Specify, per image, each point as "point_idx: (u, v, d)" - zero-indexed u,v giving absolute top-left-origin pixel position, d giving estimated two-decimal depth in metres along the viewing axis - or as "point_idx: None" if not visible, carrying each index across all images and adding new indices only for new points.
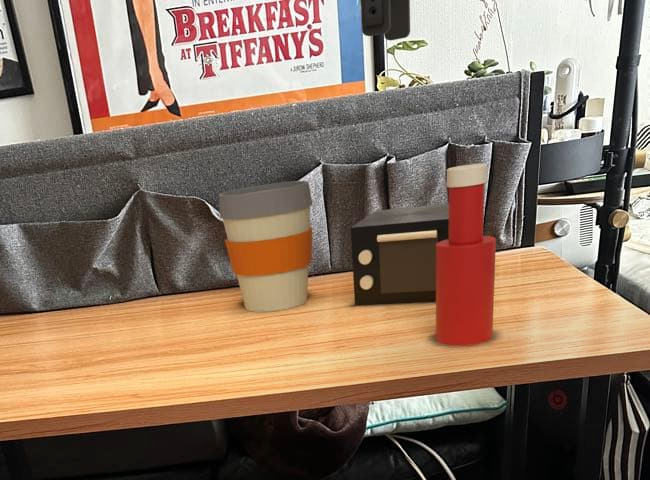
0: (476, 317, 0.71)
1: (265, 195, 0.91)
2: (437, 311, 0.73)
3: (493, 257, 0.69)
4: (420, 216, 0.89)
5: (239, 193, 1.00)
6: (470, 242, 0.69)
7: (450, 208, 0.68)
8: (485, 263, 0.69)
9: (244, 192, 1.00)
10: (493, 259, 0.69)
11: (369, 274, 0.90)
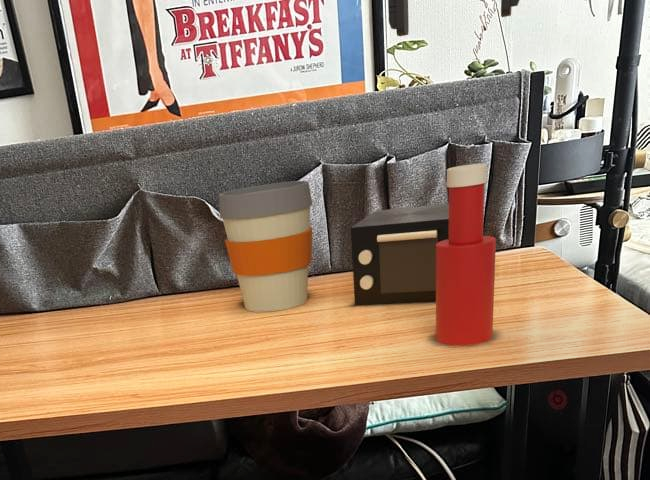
0: (476, 317, 0.71)
1: (265, 195, 0.91)
2: (437, 311, 0.73)
3: (493, 257, 0.69)
4: (420, 216, 0.89)
5: (239, 193, 1.00)
6: (470, 242, 0.69)
7: (450, 208, 0.68)
8: (485, 263, 0.69)
9: (244, 192, 1.00)
10: (493, 259, 0.69)
11: (369, 274, 0.90)
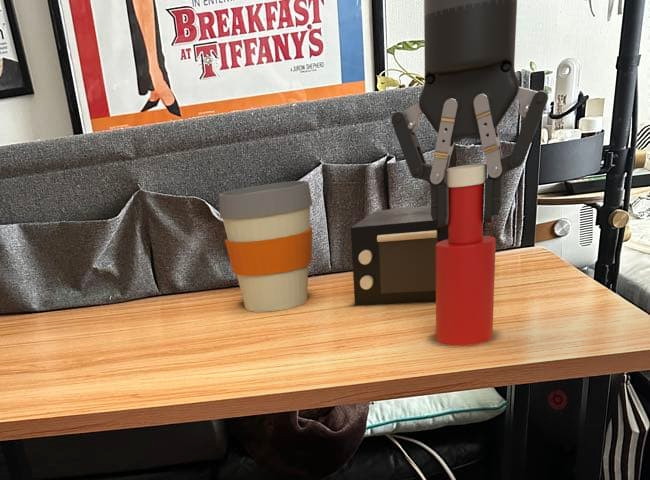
0: (476, 317, 0.71)
1: (265, 196, 0.91)
2: (437, 311, 0.73)
3: (493, 257, 0.69)
4: (420, 216, 0.89)
5: (239, 193, 1.00)
6: (470, 242, 0.69)
7: (450, 208, 0.68)
8: (485, 263, 0.69)
9: (244, 192, 1.00)
10: (493, 259, 0.69)
11: (369, 274, 0.90)
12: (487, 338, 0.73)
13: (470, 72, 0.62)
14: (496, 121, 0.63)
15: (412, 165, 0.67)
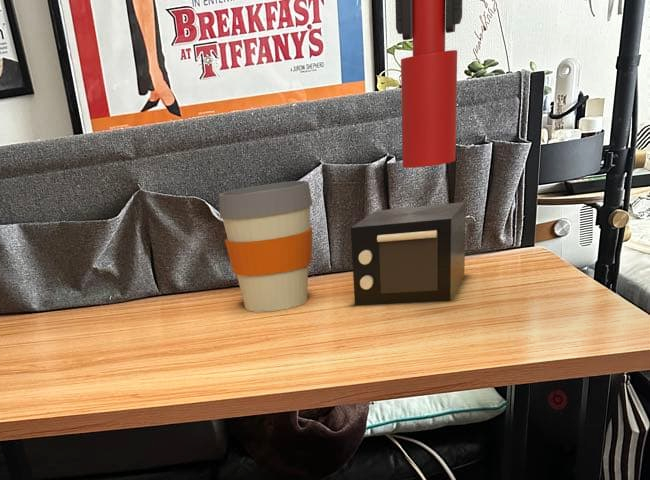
0: (439, 130, 0.75)
1: (265, 196, 0.91)
2: (403, 129, 0.77)
3: (454, 68, 0.73)
4: (420, 216, 0.89)
5: (239, 193, 1.00)
6: (432, 52, 0.72)
7: (413, 19, 0.72)
8: (446, 72, 0.72)
9: (244, 192, 1.00)
10: (455, 71, 0.73)
11: (369, 274, 0.90)
12: (450, 154, 0.76)
13: None
14: None
15: None
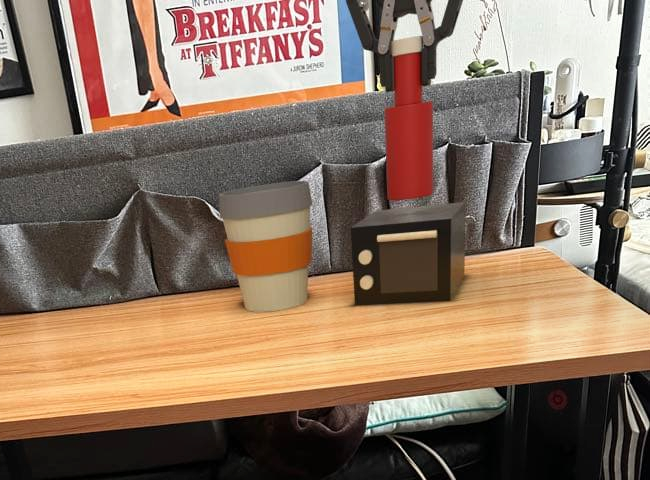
0: (418, 169, 0.87)
1: (265, 195, 0.91)
2: (387, 167, 0.89)
3: (430, 116, 0.85)
4: (420, 216, 0.89)
5: (239, 193, 1.00)
6: (411, 103, 0.84)
7: (394, 75, 0.84)
8: (423, 120, 0.84)
9: (244, 192, 1.00)
10: (431, 118, 0.85)
11: (369, 274, 0.90)
12: (428, 188, 0.88)
13: None
14: None
15: (363, 38, 0.83)
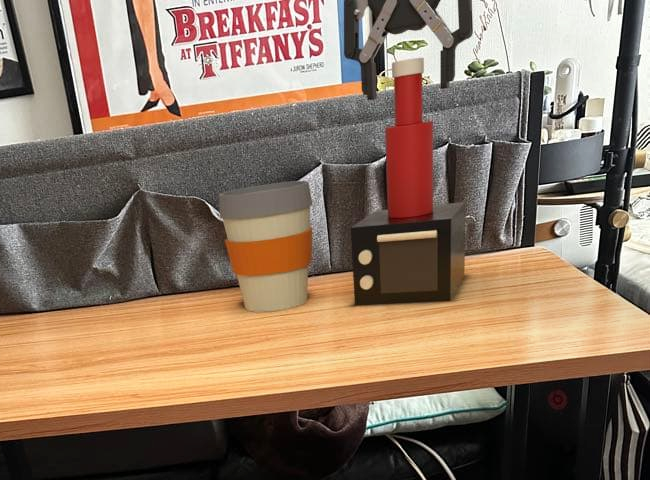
0: (418, 187, 0.88)
1: (265, 195, 0.91)
2: (387, 185, 0.90)
3: (430, 136, 0.86)
4: (420, 216, 0.89)
5: (239, 193, 1.00)
6: (411, 123, 0.85)
7: (395, 95, 0.85)
8: (423, 140, 0.85)
9: (244, 192, 1.00)
10: (431, 138, 0.86)
11: (369, 274, 0.90)
12: (428, 207, 0.89)
13: None
14: None
15: (347, 46, 0.84)
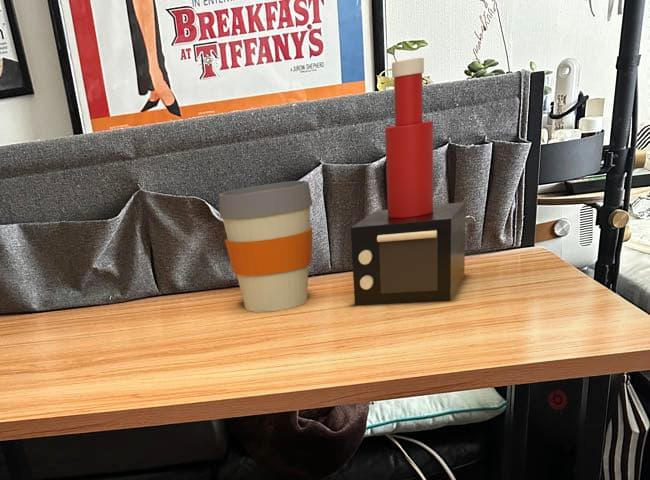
0: (418, 187, 0.88)
1: (265, 196, 0.91)
2: (387, 185, 0.90)
3: (430, 136, 0.86)
4: (420, 216, 0.89)
5: (239, 193, 1.00)
6: (411, 123, 0.85)
7: (395, 95, 0.85)
8: (423, 140, 0.85)
9: (244, 192, 1.00)
10: (431, 138, 0.86)
11: (369, 274, 0.90)
12: (428, 207, 0.89)
13: None
14: None
15: None
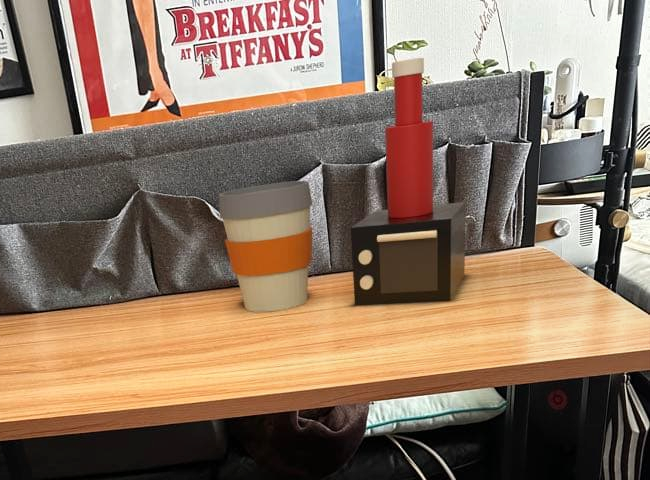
0: (418, 187, 0.88)
1: (265, 195, 0.91)
2: (387, 185, 0.90)
3: (430, 136, 0.86)
4: (420, 216, 0.89)
5: (239, 193, 1.00)
6: (411, 123, 0.85)
7: (395, 95, 0.85)
8: (423, 140, 0.85)
9: (244, 192, 1.00)
10: (431, 138, 0.86)
11: (369, 274, 0.90)
12: (428, 207, 0.89)
13: None
14: None
15: None
